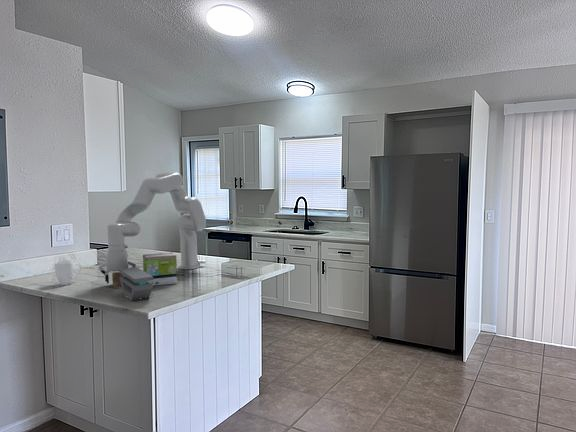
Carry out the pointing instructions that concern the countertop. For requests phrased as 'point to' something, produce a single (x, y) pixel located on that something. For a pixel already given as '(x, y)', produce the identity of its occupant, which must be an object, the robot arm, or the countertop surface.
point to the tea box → (161, 267)
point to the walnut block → (116, 278)
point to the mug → (65, 271)
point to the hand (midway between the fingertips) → (118, 282)
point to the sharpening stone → (136, 283)
